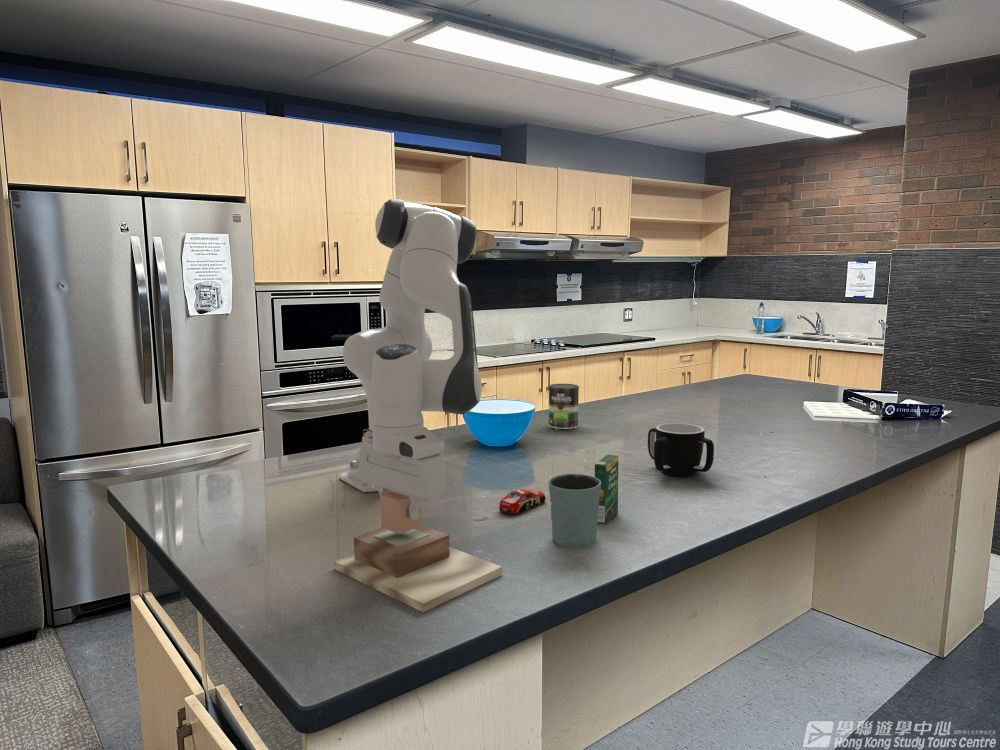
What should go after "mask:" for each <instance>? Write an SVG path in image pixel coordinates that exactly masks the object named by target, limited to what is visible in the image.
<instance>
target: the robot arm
mask: <svg viewBox="0 0 1000 750" xmlns="http://www.w3.org/2000/svg"><path fill="white" fill-rule="evenodd" d="M375 218H376V219H375V223H374V224H375V228H374V229H375V232H376V238H377V240H378V242H379V243H380V244H381V245H382V246H385V247H386V248H389V249H391V250H392V251H391V253H390V256H389V258H388V262H387V265H386V270H385V273H384V276H383V281H382V284H381V289H380V292H379V296H378V299H379V300H378V301H379V303H380V305H381V307H382V308H383V310H385V312H386V313H387V314H386V316H387V319H386V321H387V322H386V324H385V326H384V327H380V328H370V329H365V330H362V331H360V332H357V333H354V334H353V335H351V336H349V337H348V338H347V339H346V340H345V342H344V345H343V347H342V348H343V349H342V358H343V361H344V364H345V366H346V367H347V369H348V370H349V372H351V373H353V374H354V375H355V376H356V377H357V378H358V380H359V382H360V383H361V386H362V388H363V390H364V393H365V396H366V401H367V412H368V413H367V414H368V428H367V429H365V428H364V429H362V432H363V433H362V435H363V436H362V438H361V445H360V446H359V447H358V448H357V449H356V450H355V451H354V452H352V453H351V455H350V456H349V459H348V470H346V471H344V472H342V473H340V474H339V479H340V480H341V481H343V482H345V483H347V484H348V485H350V486H352V487H353V488H356V489H357V490H358V491H360V492H363V493H366V492H367V493H370V492H378V493H379V496H380V495H381V494H385V493H388V492H391V491H396V492H399V493H402V494H405V495H408V496H409V501H410V502H411V505H410V508H408V509H406V517H407V518H408V519H411V520H415V519H418V518H419V508H420V506H421V507H422V504H423V502H426V503H432V502H435V501H438V500H441V499H442V498H443V497H444V496H445V494H446V490H447V477H446V473H447V471H446V463H445V460H444V458H443V456H442V455H441V454H442V453H444V452H445V448H446V447H445V442H444V441H443V440H442V439H441V438H439V437H438V436H437V435H435V434H434V433H433V432H431V431H430V430H429V429H428V428H427V427H425V425H424V424H425V423H424V422H425V421H424V416H423V412H437V413H440V412H441V413H443V412H444V413H446V414H455V415H461V416H462V415H466V414H467V413H469V412H470V411H471V410H474V408H475V407H476V406H477V405H478V404H480V401H481V397H482V389H483V388H482V378H481V375H480V371H479V364H478V357H477V356H478V354H477V344H476V343H477V341H476V330H475V320H474V311H473V303H472V297H471V294H470V291H469V289H468V286H467V285H466V284H464V283H462V282H461V281H459V278H458V274H457V268H458V264H463V263H465V262H466V261H469V259H470V257H471V256H472V254H473V253H474V251H475V249H476V246H477V241H478V238H477V237H478V235H477V227H476V225H475V222H474V221H473V220H471V219H469V218H467V217H465V216H463V215H457V214H454V213H453V212H450V211H447V210H446V209H442V208H438V207H436V206H429V205H424V204H419V203H415V202H407V201H405V200H404V199H396V198H393V199H392V198H391V199H388V200H387V201H385V202H384V203H383V205H382V207H381V208H380V209H379V210H378V212H377V215H376V217H375ZM426 309H427V310H429V311H432V312H435V313H438V314H440V315H442V316H445V317H446V318H448V319H449V320H450V321H451V329H452V330H451V331H452V342H453V343H452V344H453V346H452V347H453V355H452V356H451V357H449V358H447V359H430V358H431V355H432V351H433V342H432V338H431V337H430V335H429V334H428V332H427V330H426V328H425V314H426V313H425V311H426Z"/></svg>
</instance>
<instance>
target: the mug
mask: <svg viewBox="0 0 1000 750" xmlns="http://www.w3.org/2000/svg"><path fill="white" fill-rule="evenodd" d="M705 431H706V430H705V428H703V427H702V426H700V425H697V424H691V423H681V422H680V423H679V422H677V423H676V422H671V423H670V422H669V423H661V424H658V425H657V426H656V427H652V428H650V429H649V430H648V433H647V450H648V455H649V456H650V458H651V459H652V460H653V461H654V467H655V468H656V470H657V471H659V472H662V474H665V475H668V476H671V477H672V476H673V477H682V478H683V477H692V476H695V475H696V474H697V473H698V472H700V473H707V472H708V471H709V470H711V468H712V466H713V463H714V458H715V444H714V441H712V440H711V439H710V438H706V437H705ZM704 444H705V445H706V455H705V457H706V458H705V464H704V466H700V465H701V462H702V455H703V454H704V453H703V452H704Z"/></svg>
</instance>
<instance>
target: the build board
mask: <svg viewBox="0 0 1000 750" xmlns="http://www.w3.org/2000/svg"><path fill="white" fill-rule="evenodd" d="M353 550H354V551H353V552H354V553H352V554H348V555H346V556H343V557H341V558H338V559H336V560H333V569H334V570H336V571H337V572H340V573H342V574H344V575H346V576H348V577H350V578H352V579H354V580H355V581H358V582H360V583H362V584H364V585H366V586H368V587H369V588H370V587H371V588H372V589H375V590H376V591H379V592H380V593H383V594H384V595H387V596H389V597H390V598H392V599H395V600H397V601H398V602H400V603H403V604H404V605H407V606H409V607H412V609H415V610H417V611H419V612H421V613H422V614H423V613H425V612H429V611H430V610H432V609H435V608H437V607H438V606H440V605H442V604H444V603H447V602H448V601H451V600H452V599H453V600H454V599H455V598H458V597H459V596H461V595H463V594H465V593H467V592H469V591H472V590H474V589H476V588H478V587H480V586H482V585H484V584H486V583H488V582H490V581H492V580H495V579H497V578H499V577H500V576H502V575H503V566H501V565H498V564H495V563H493V562H491V561H488V560H485V559H483V558H481V557H477V556H474V555H471V554H470V553H467V552H464V551H462V550H459V549H457V548H454V547H451V546H450V535H449V534H447V533H444V532H441V531H438V530H436V529H433V528H431V527H428V526H425V525H422V524H421V527H418V528H415V529H413V530H410V531H407V532H404V533H402V534H397V533H395V532H392V531H390V530H387V529H385V528H382V527H380V528H377V529H373V531H368V532H366V533H362V534H360V535H357V536H354V537H353Z"/></svg>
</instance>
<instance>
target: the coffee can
mask: <svg viewBox="0 0 1000 750" xmlns="http://www.w3.org/2000/svg"><path fill="white" fill-rule="evenodd" d="M579 391H580V385H578V384H573V383H552V384H549V385H548V428H550V427H551V428H550V429H552V428H555V429H554V430H559V429H570V430H572V429H571V428H576V427H578V428H579V401H580V400H579V396H580V394H579ZM576 429H577V428H576Z"/></svg>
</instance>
